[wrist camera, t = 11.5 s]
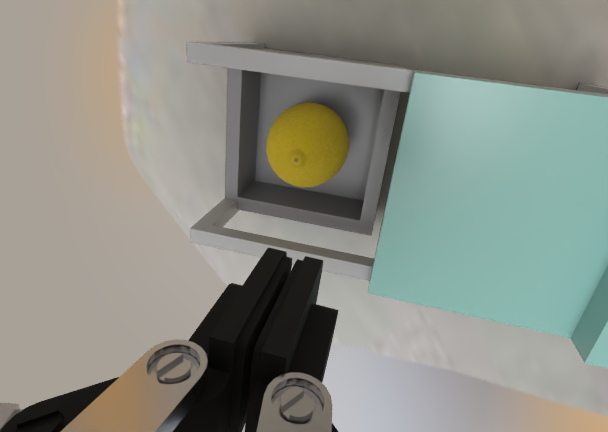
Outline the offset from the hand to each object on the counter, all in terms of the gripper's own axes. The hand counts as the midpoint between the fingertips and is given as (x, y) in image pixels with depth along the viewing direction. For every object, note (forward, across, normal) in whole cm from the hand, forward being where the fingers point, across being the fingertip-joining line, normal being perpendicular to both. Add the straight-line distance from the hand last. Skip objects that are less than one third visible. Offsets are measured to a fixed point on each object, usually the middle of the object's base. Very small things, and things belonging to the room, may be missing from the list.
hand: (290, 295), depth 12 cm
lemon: (+21, +3, 0) cm, 21 cm away
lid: (+11, -9, 0) cm, 14 cm away
